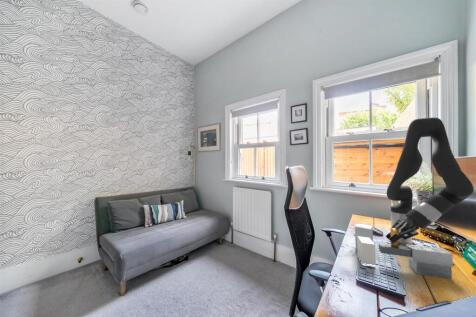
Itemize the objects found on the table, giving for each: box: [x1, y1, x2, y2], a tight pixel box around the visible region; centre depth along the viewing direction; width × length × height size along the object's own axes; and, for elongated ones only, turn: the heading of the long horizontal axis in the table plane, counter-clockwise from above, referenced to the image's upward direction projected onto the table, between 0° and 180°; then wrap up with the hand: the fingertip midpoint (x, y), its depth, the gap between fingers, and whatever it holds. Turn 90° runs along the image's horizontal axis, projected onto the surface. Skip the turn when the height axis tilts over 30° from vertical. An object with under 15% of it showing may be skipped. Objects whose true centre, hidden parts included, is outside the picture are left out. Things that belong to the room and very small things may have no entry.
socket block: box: [357, 236, 377, 266], centre depth 85 cm, size 8×5×10 cm, turn 160°
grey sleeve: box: [405, 244, 454, 280], centre depth 77 cm, size 6×13×10 cm, turn 70°
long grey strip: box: [378, 227, 412, 258], centre depth 80 cm, size 3×20×11 cm, turn 70°
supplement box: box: [354, 223, 374, 251], centre depth 98 cm, size 7×7×13 cm
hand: (389, 239), depth 82 cm, fingers closed on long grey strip, 3 cm apart
